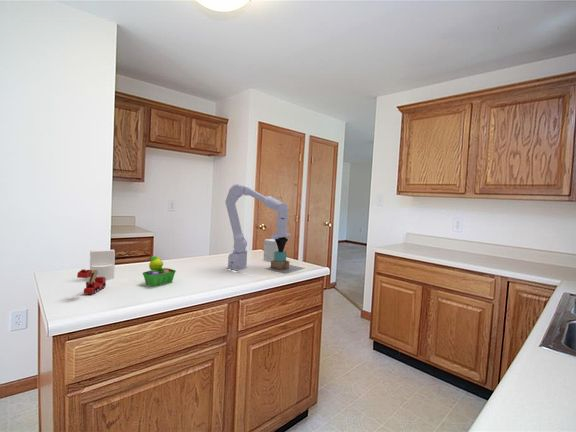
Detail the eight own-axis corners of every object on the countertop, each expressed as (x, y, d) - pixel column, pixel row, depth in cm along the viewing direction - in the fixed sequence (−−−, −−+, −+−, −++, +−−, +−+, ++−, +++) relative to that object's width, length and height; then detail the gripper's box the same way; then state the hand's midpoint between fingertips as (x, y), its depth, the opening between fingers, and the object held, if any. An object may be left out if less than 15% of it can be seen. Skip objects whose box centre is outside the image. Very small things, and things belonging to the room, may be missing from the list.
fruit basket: (152, 288, 121) (153, 260, 121) (139, 284, 126) (139, 257, 125) (176, 282, 131) (177, 256, 130) (163, 278, 136) (164, 253, 135)
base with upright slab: (88, 281, 125) (88, 253, 124) (91, 276, 133) (91, 249, 132) (113, 280, 129) (114, 252, 129) (114, 274, 137) (115, 248, 137)
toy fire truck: (106, 287, 120) (107, 262, 119) (86, 298, 106) (87, 271, 106) (97, 286, 120) (98, 262, 119) (76, 298, 106) (76, 271, 106)
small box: (279, 262, 180) (280, 240, 179) (271, 263, 176) (272, 241, 175) (271, 259, 186) (272, 238, 185) (263, 260, 182) (264, 239, 181)
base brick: (280, 270, 157) (281, 263, 157) (270, 268, 161) (270, 260, 161) (289, 268, 163) (289, 261, 162) (278, 266, 167) (279, 258, 166)
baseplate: (285, 275, 151) (285, 273, 151) (263, 270, 159) (264, 268, 159) (305, 269, 165) (305, 268, 165) (285, 265, 174) (285, 263, 174)
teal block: (280, 262, 159) (281, 252, 158) (274, 260, 161) (274, 251, 161) (286, 261, 162) (286, 251, 162) (279, 259, 165) (279, 250, 164)
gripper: (279, 227, 152) (278, 254, 153) (296, 226, 164) (294, 251, 165) (268, 226, 156) (267, 252, 157) (285, 225, 168) (284, 249, 169)
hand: (280, 251), depth 161 cm, fingers closed, pressing on teal block
